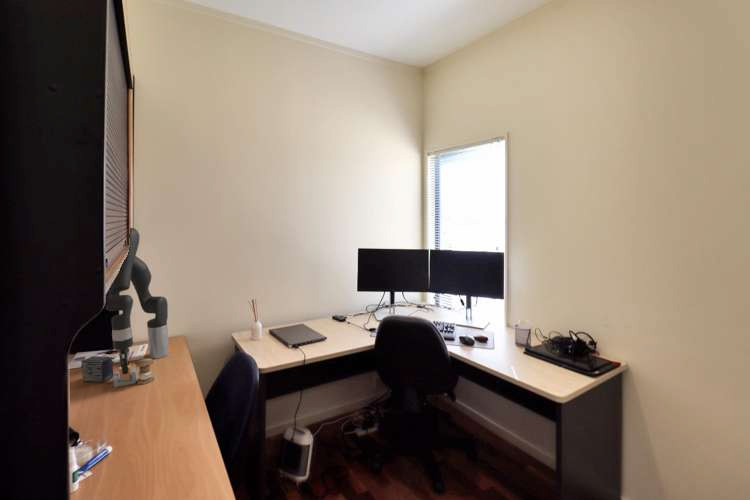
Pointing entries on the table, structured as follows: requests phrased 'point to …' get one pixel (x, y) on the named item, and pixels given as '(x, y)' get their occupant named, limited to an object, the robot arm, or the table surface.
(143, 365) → the bobbin
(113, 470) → the table surface
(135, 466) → the table surface
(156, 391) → the table surface
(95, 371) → the small box
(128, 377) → the tan rectangular block
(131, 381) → the grey channel bracket
